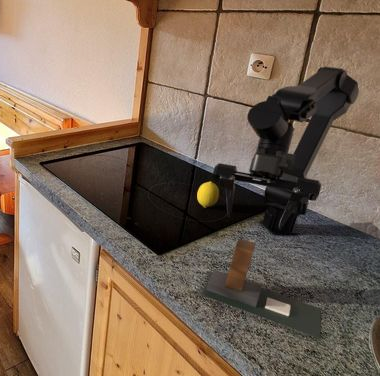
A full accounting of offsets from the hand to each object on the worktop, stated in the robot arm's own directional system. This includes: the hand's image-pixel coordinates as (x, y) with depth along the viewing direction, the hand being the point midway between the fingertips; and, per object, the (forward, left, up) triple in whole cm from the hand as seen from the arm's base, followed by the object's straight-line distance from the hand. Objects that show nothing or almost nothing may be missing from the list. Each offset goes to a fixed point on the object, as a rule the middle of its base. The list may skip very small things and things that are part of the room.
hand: (253, 222), depth 80 cm
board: (0, +8, -13) cm, 16 cm away
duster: (+4, +5, -13) cm, 14 cm away
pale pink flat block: (-2, +10, -13) cm, 16 cm away
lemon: (-7, -31, -13) cm, 35 cm away
